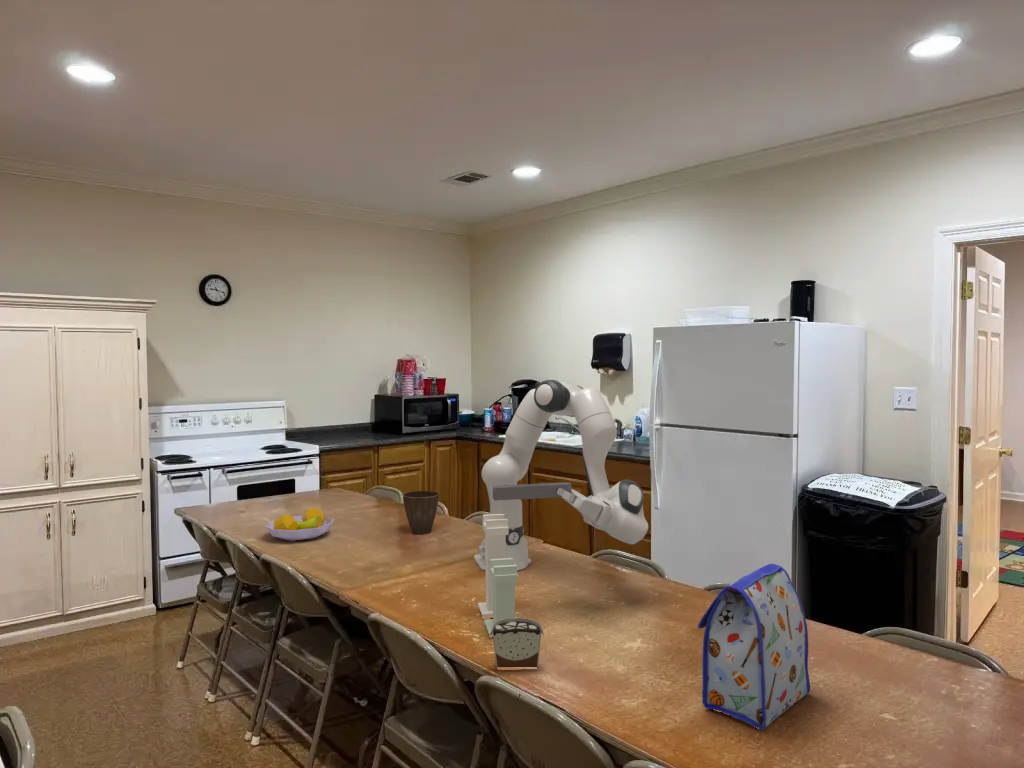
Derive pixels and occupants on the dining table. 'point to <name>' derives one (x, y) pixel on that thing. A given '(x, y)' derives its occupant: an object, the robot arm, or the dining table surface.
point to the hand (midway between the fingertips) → (555, 488)
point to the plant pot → (421, 510)
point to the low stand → (502, 590)
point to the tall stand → (493, 553)
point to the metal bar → (529, 491)
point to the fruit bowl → (300, 525)
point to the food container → (517, 642)
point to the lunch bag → (755, 648)
